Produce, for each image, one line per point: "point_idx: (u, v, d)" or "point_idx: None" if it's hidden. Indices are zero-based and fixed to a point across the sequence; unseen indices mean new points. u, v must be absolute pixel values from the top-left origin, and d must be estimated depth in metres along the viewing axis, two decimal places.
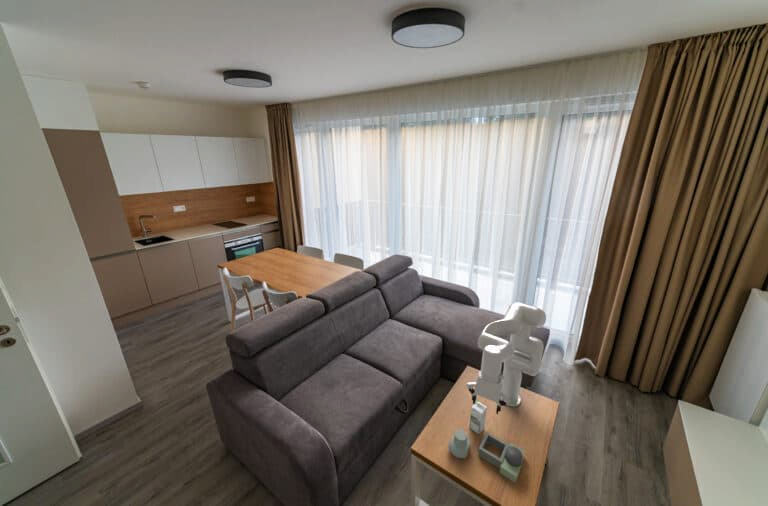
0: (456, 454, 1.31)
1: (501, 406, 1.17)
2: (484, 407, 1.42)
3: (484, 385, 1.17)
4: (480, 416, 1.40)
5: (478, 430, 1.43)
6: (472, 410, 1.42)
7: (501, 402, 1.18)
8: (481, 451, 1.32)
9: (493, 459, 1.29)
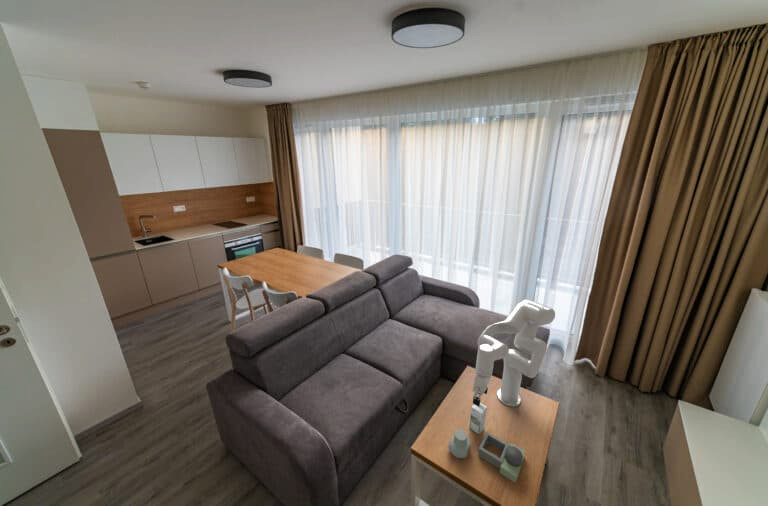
0: (456, 454, 1.31)
1: None
2: (484, 407, 1.42)
3: (487, 381, 1.34)
4: (480, 416, 1.40)
5: (478, 430, 1.43)
6: (472, 410, 1.42)
7: None
8: (481, 451, 1.32)
9: (493, 459, 1.29)
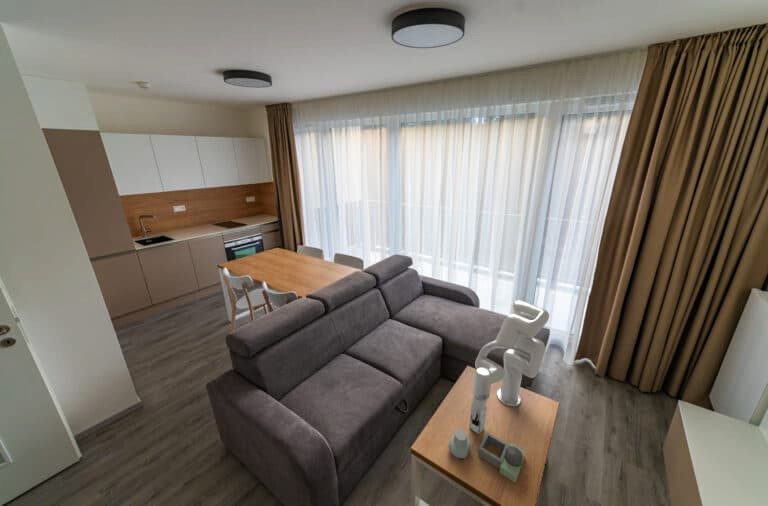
0: (456, 454, 1.31)
1: None
2: None
3: (484, 403, 1.38)
4: (480, 416, 1.40)
5: (478, 430, 1.43)
6: None
7: None
8: (481, 451, 1.32)
9: (493, 459, 1.29)
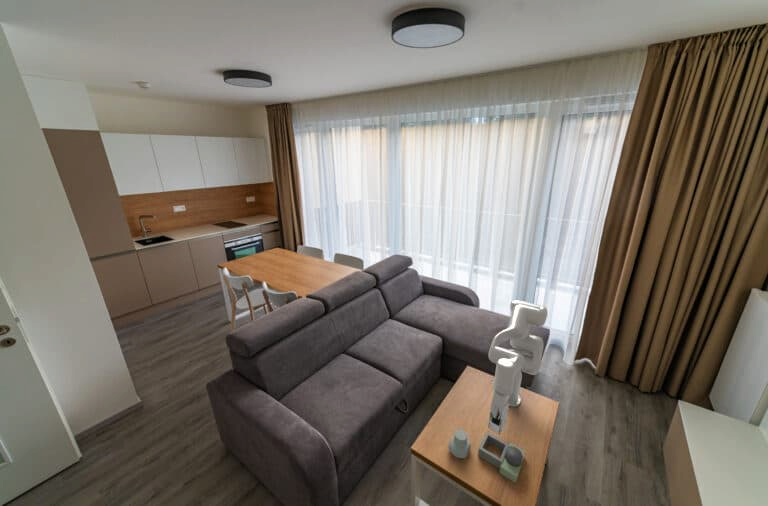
0: (456, 454, 1.31)
1: None
2: (506, 404, 1.25)
3: (506, 399, 1.21)
4: (502, 414, 1.22)
5: (499, 430, 1.26)
6: None
7: None
8: (481, 451, 1.32)
9: (493, 459, 1.29)
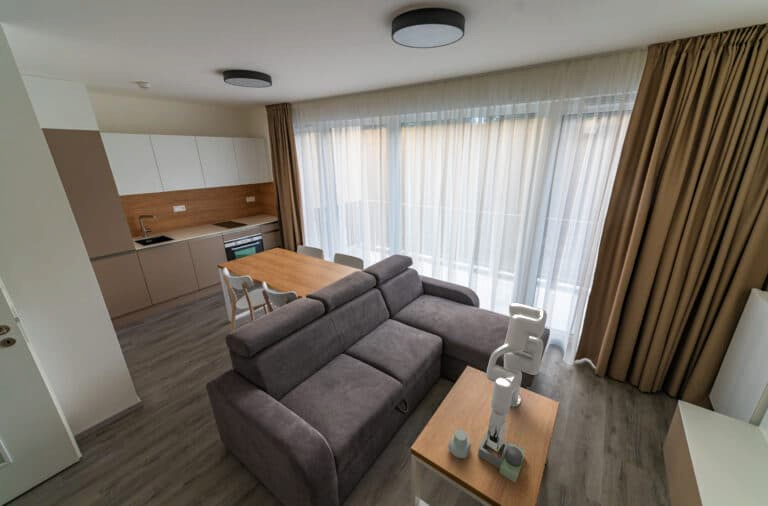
0: (456, 454, 1.31)
1: None
2: None
3: (504, 417, 1.24)
4: (499, 432, 1.25)
5: (496, 447, 1.29)
6: None
7: None
8: (481, 451, 1.32)
9: (493, 459, 1.29)
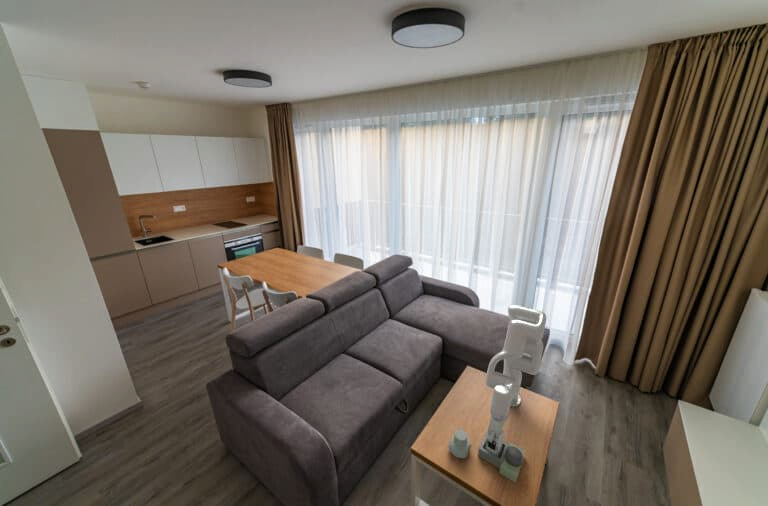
0: (456, 454, 1.31)
1: None
2: None
3: (503, 424, 1.25)
4: (498, 441, 1.27)
5: None
6: (488, 435, 1.30)
7: None
8: (481, 451, 1.32)
9: (493, 459, 1.29)
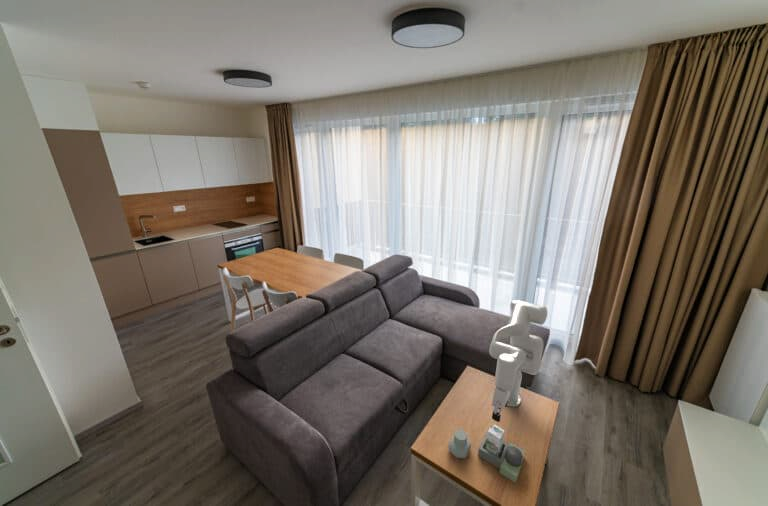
0: (456, 454, 1.31)
1: None
2: (502, 431, 1.30)
3: (508, 394, 1.20)
4: (498, 441, 1.27)
5: None
6: (488, 435, 1.30)
7: None
8: (481, 451, 1.32)
9: (493, 459, 1.29)
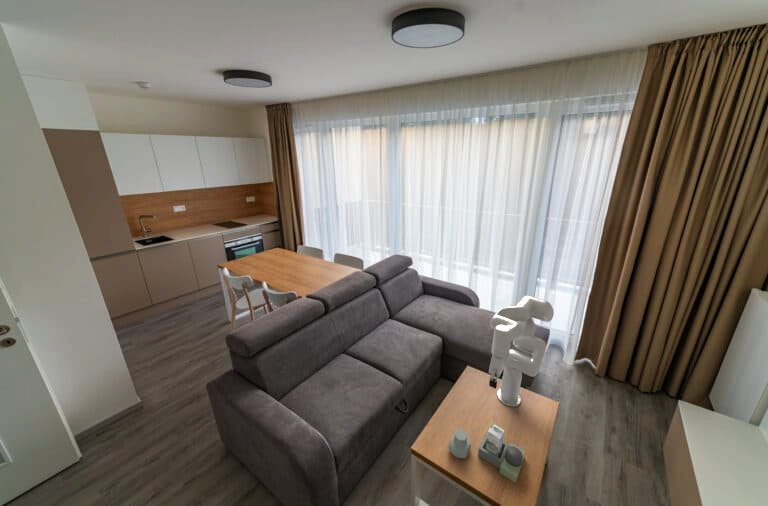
0: (456, 454, 1.31)
1: None
2: (501, 431, 1.30)
3: (503, 362, 1.31)
4: (498, 442, 1.27)
5: None
6: (488, 435, 1.30)
7: None
8: (481, 451, 1.32)
9: (493, 459, 1.29)
